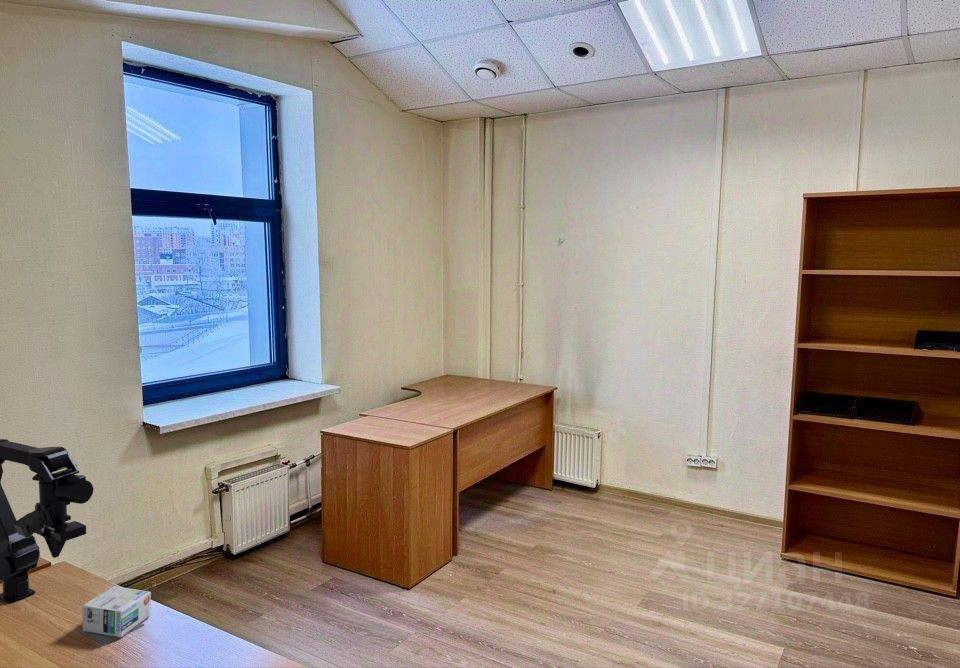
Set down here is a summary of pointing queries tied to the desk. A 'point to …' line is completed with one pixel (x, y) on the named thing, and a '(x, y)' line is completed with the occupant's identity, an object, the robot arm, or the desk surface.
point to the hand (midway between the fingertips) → (55, 557)
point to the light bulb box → (116, 611)
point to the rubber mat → (106, 638)
